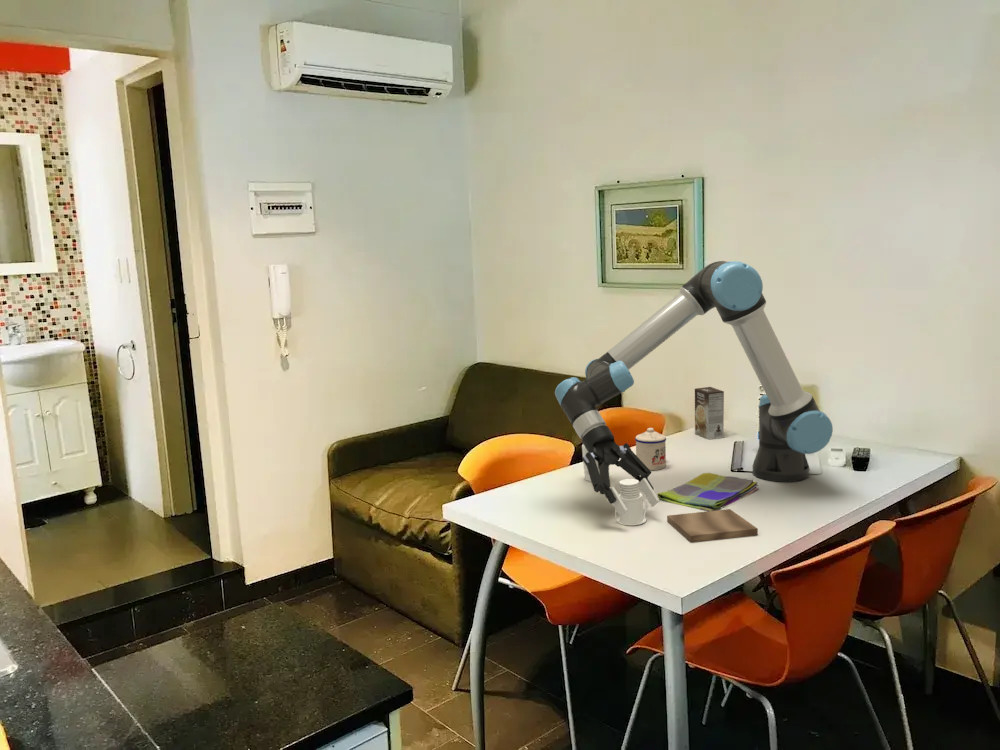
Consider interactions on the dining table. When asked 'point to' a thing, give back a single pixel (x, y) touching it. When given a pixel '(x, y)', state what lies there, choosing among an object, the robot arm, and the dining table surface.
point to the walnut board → (711, 525)
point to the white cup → (586, 466)
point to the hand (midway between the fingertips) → (639, 508)
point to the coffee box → (709, 413)
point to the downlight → (631, 503)
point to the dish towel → (709, 492)
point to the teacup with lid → (651, 449)
